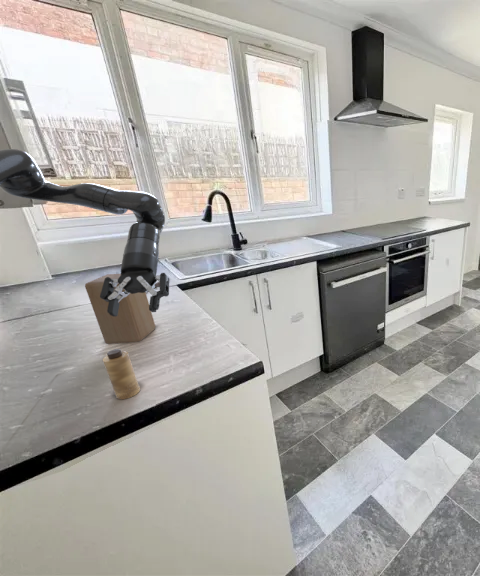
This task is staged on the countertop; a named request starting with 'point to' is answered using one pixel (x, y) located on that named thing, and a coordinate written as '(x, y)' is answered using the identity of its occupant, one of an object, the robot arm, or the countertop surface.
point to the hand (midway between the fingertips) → (132, 313)
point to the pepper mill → (121, 374)
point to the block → (121, 314)
